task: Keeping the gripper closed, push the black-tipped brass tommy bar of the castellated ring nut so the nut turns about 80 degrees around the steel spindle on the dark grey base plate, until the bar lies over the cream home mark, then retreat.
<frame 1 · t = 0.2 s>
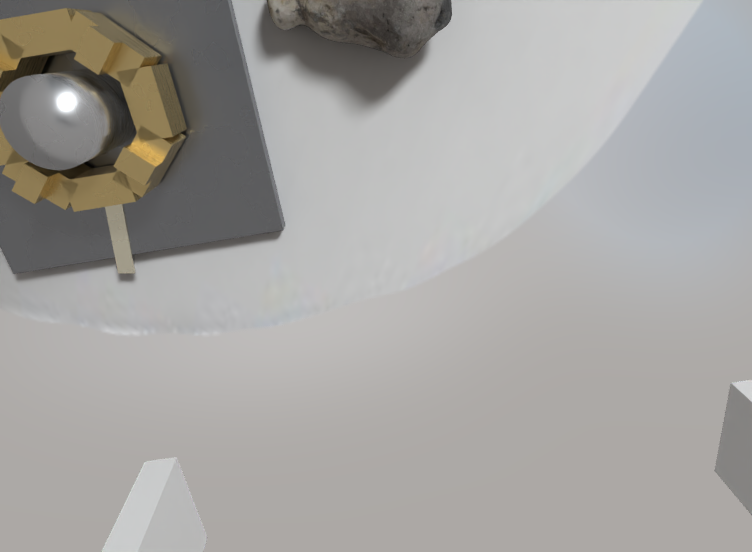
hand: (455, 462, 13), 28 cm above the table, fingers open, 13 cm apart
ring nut: (4, 127, 32), point 4 cm above the table, hinge at 0.0°
stone: (359, 12, 34), on the table
base plate: (103, 108, 35), on the table
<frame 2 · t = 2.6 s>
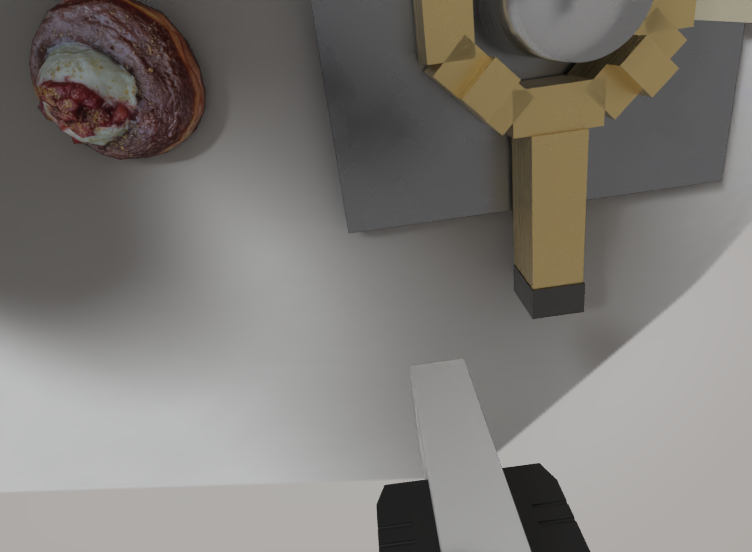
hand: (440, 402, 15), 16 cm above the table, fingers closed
pastry: (128, 78, 26), on the table
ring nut: (551, 107, 23), point 4 cm above the table, hinge at 0.0°
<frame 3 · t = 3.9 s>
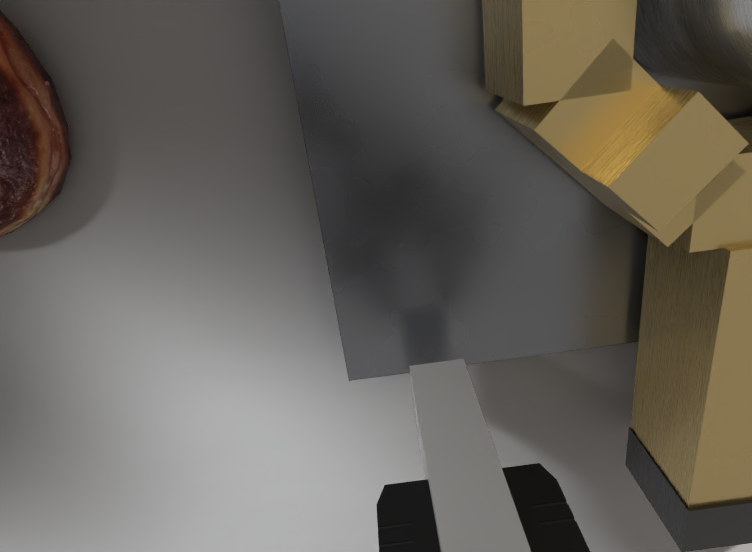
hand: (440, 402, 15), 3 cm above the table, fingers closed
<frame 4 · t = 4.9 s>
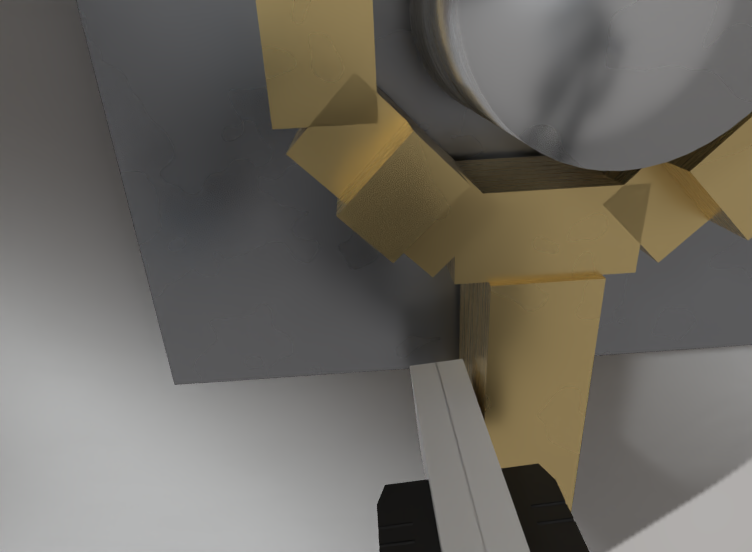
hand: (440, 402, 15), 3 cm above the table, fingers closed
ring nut: (535, 223, 12), point 4 cm above the table, hinge at 0.0°, touching gripper
base plate: (502, 6, 13), on the table
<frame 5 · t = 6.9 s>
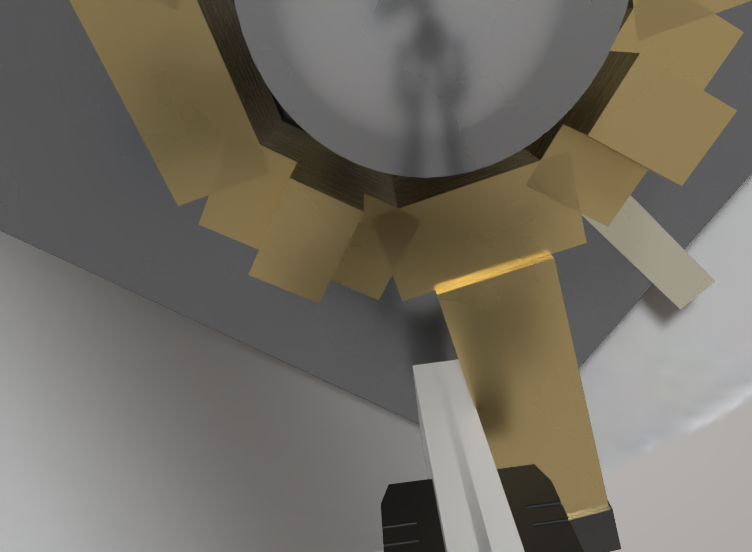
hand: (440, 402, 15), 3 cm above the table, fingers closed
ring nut: (472, 218, 12), point 4 cm above the table, hinge at 49.8°, touching gripper
base plate: (397, 6, 13), on the table
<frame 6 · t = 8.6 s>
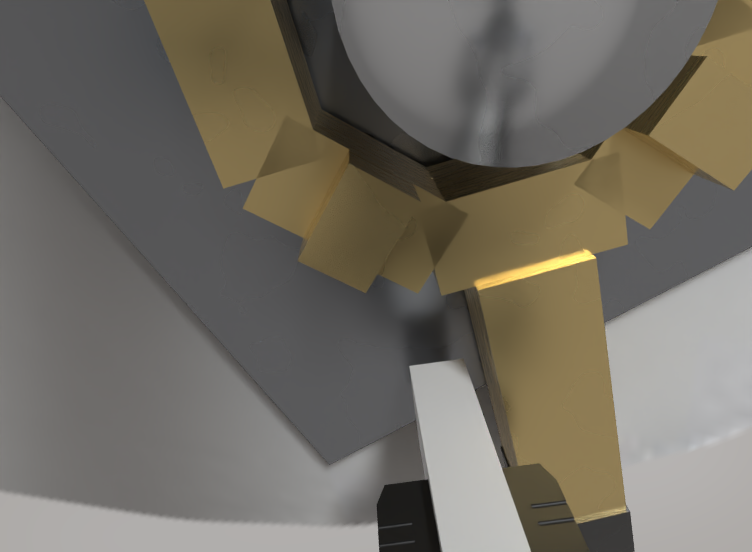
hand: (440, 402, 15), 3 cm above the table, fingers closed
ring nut: (513, 215, 12), point 4 cm above the table, hinge at 74.2°
base plate: (440, 1, 13), on the table
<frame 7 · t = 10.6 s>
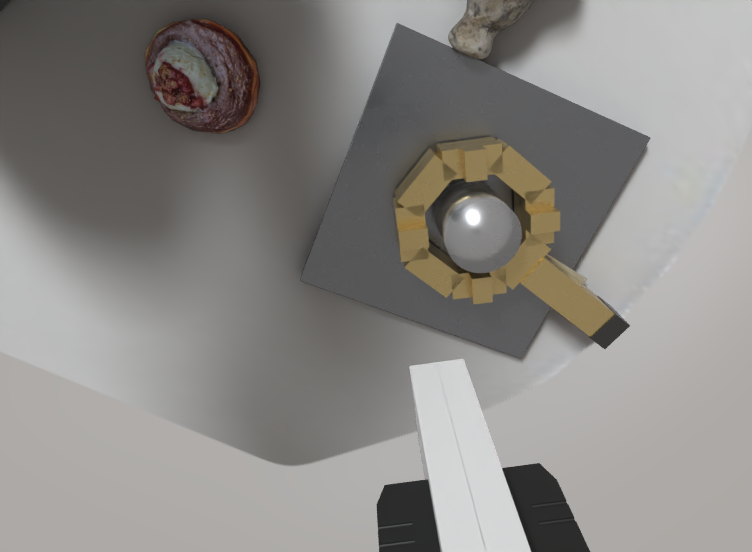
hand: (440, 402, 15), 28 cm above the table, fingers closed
pastry: (208, 76, 37), on the table
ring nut: (519, 258, 39), point 4 cm above the table, hinge at 74.2°
base plate: (464, 208, 41), on the table
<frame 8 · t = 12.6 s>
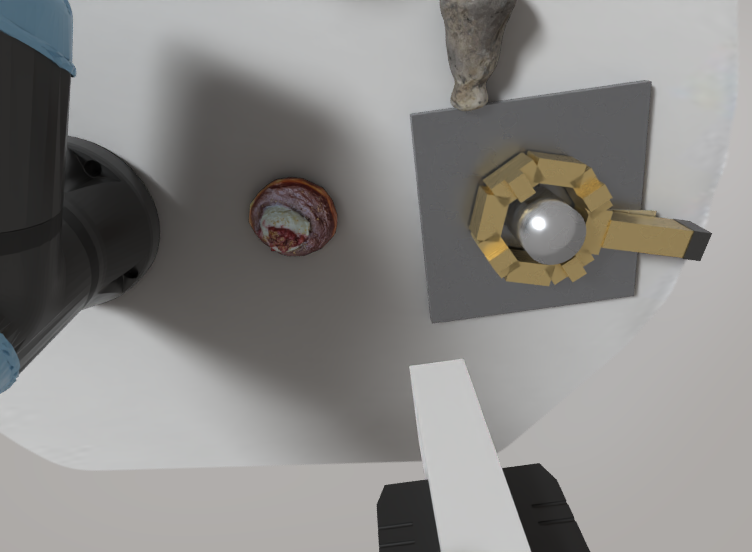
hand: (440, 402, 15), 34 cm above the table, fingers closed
pastry: (295, 213, 48), on the table
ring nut: (590, 228, 46), point 4 cm above the table, hinge at 74.2°
stone: (471, 35, 43), on the table
base plate: (527, 209, 49), on the table
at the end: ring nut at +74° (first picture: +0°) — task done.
